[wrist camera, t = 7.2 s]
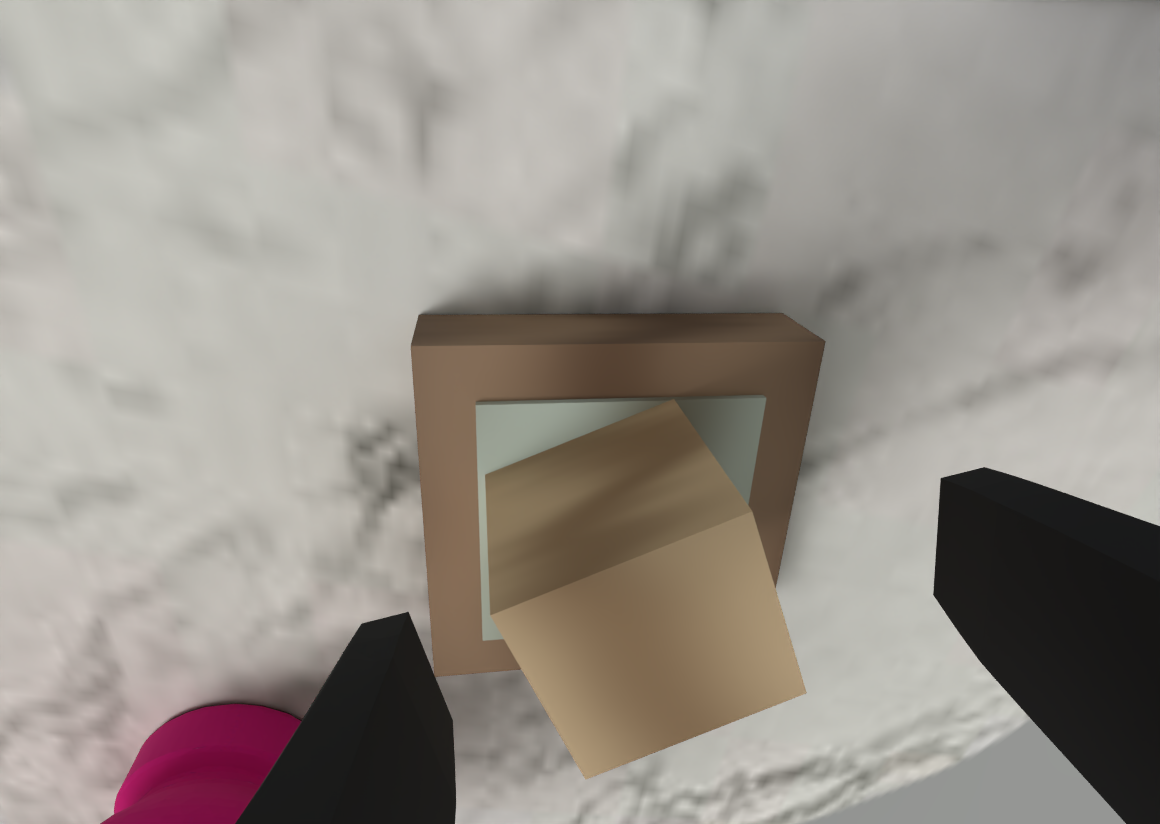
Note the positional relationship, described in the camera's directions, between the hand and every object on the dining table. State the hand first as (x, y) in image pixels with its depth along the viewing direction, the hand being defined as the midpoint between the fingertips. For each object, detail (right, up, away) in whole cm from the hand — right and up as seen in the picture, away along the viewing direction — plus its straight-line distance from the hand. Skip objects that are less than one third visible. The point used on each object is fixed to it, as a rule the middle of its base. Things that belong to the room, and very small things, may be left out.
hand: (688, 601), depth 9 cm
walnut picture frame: (-1, +1, +11) cm, 11 cm away
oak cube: (-1, 0, +8) cm, 8 cm away
